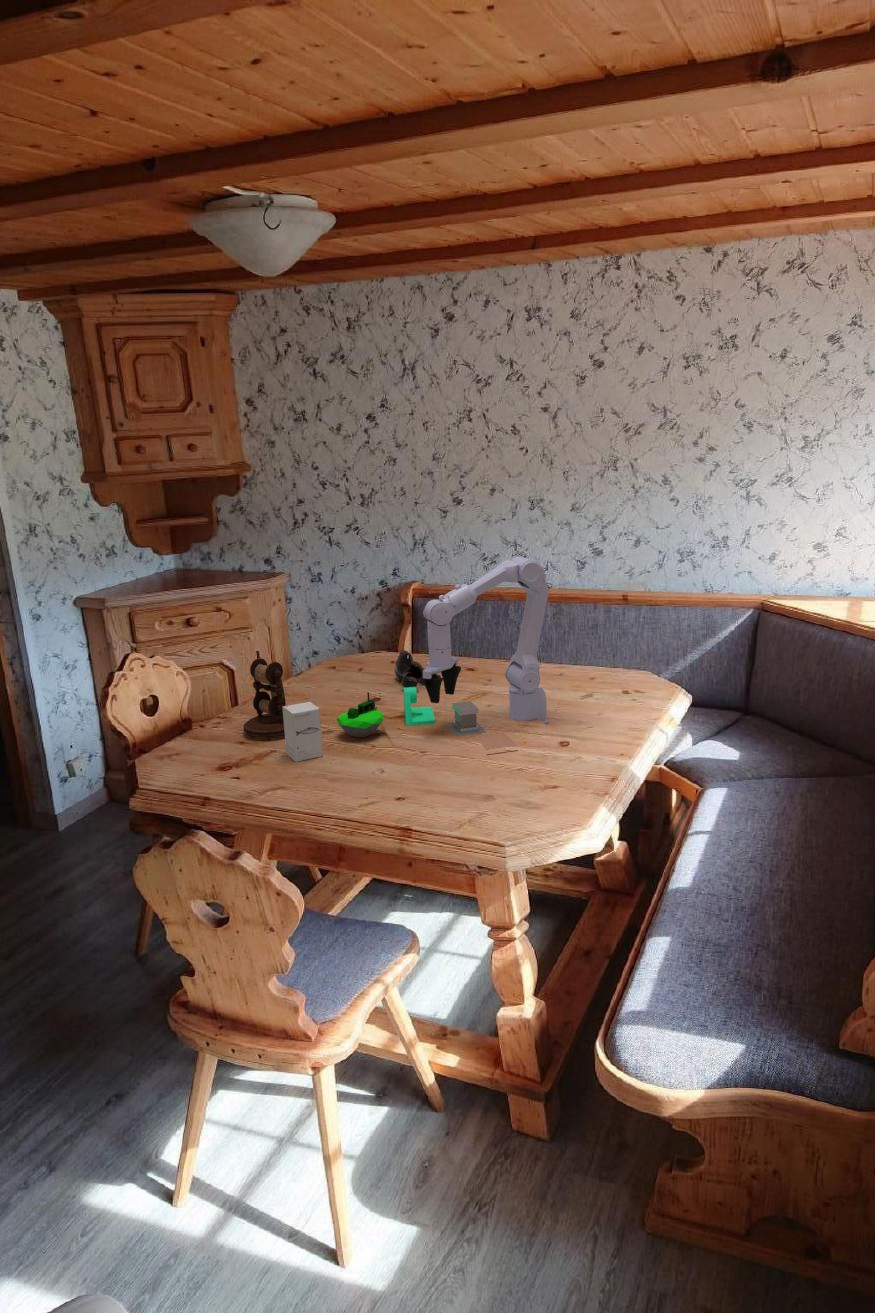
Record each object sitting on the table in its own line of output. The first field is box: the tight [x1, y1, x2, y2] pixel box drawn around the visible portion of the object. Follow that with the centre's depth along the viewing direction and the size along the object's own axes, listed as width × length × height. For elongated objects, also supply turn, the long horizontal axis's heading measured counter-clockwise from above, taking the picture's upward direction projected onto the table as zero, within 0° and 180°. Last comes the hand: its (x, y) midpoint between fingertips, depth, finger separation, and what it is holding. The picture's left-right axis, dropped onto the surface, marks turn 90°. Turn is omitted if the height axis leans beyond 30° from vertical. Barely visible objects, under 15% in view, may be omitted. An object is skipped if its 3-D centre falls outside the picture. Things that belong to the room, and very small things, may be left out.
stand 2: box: [474, 732, 519, 756], centre depth 230 cm, size 8×10×2 cm
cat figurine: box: [394, 650, 442, 689], centre depth 285 cm, size 10×14×18 cm
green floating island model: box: [336, 691, 384, 739], centre depth 241 cm, size 12×12×11 cm
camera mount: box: [403, 686, 436, 727], centre depth 249 cm, size 12×8×10 cm, turn 5°
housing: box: [451, 700, 480, 733], centre depth 239 cm, size 5×7×6 cm
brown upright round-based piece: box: [242, 657, 287, 742], centre depth 245 cm, size 15×15×20 cm
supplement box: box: [282, 701, 324, 763], centre depth 228 cm, size 7×7×13 cm
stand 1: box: [445, 722, 487, 737], centre depth 240 cm, size 8×10×2 cm
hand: (442, 698), depth 238 cm, fingers open, 7 cm apart
